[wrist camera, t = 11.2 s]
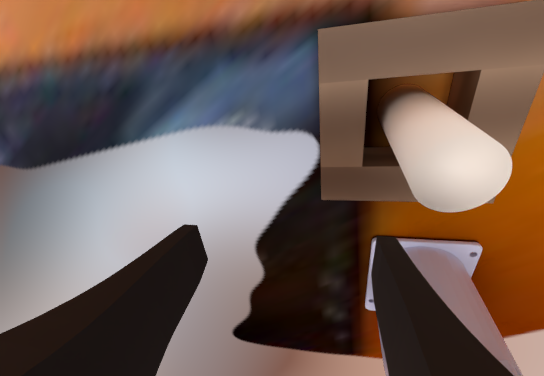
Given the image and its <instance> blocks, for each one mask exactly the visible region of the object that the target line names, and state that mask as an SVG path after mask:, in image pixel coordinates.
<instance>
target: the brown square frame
mask: <svg viewBox="0 0 544 376" xmlns="http://www.w3.org/2000/svg"><path fill="white" fill-rule="evenodd" d="M318 58H319V107H320V155H321V200H356V201H405V202H418V200H417V199H416V198H415V197H414V195H413V193H412V191H411V189H410V187H409V185H408V182H407V180H406V178H405V176H404V174H403V172H402V169H401V167H400V165H399V163H398V161H397V159H396V156H395V154H394V152H393V150H392V148H391V147H366V148H364V134H365V120H366V106H367V92H368V79H380V78H391V77H403V76H415V75H427V74H438V73H450V72H454V77H453V81H452V85H451V90H450V94H449V99H448V103H447V106H448V107H449V108H451V109H452V110H453V111H455V112H456V113H458V114H459V115H461V116H462V117H463V118H465V119H466V120H468V121H469V122H470V123H472V124H473V125H475V126H476V127H478V128H479V129H480V130H482V131H483V132H485V133H486V134H488V135H489V136H490V137H492V138H493V139H495V140H496V141H497V142H499V143H500V144H502V145H503V146H504V147H505V148H506V149H507V151H508V152H509V154H510V156H512V153H513V151H514V148H515V145H516V143H517V140H518V138H519V135H520V133H521V130H522V127H523V125H524V122H525V120H526V117H527V115H528V112H529V109H530V107H531V104H532V102H533V99H534V97H535V94H536V91H537V89H538V86H539V84H540V81H541V78H542V76H543V73H544V0H532V1H525V2H517V3H510V4H503V5H495V6H488V7H480V8H473V9H465V10H458V11H450V12H443V13H436V14H428V15H421V16H413V17H406V18H398V19H391V20H383V21H376V22H369V23H361V24H354V25H346V26H339V27H331V28H324V29H318ZM495 197H496V196H495ZM495 197H494V198H492V199H491V200H489V201H488V202H486V203H493V202H494V199H495Z"/></svg>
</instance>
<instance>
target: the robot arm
mask: <svg viewBox="0 0 544 376" xmlns="http://www.w3.org/2000/svg"><path fill="white" fill-rule="evenodd" d="M482 249H483V248H482V246H481V245H480V244H479V243H477V242H463V241H443V240H424V239H405V238H395V237H386V236H377V237H376V238H374V239H373V240H372V243H371V253H370V262H369V271H368V280H367V289H366V298H365V308H366V309H368V310H374V311H376V315H377V321H378V328H379V335H380V342H381V349H382V356H383V363H384V369H385V373H386V376H523V375H522V373H521V371H520V370H519V367H518V366H517V364H516V362H515V360H514V358H513V356H512V354H511V353H510V351H509V349H508V347H507V345H506V343H505V341H504V339H503V338H502V336H501V334H500V332H499V330H498V328H497V326H496V325H495V323H494V321H493V319H492V317H491V315H490V313H489V312H488V310H487V308H486V306H485V304H484V302H483V300H482V298H481V297H480V295H479V293H478V291H477V289H476V287H475V285H474V284H473V282H472V280H471V277H472V274H473V272H474V269H475V267H476V265H477V262H478V260H479V257H480V255H481V252H482ZM472 252H474V253H472ZM470 253H471V254H470ZM207 261H208V258H207V255H206V252H205V248H204V245H203V242H202V239H201V236H200V233H199V230H198V227H197V225H183V226H182V227H180V228H178V229H177V230H175V231H174V232H173V233H171V234H170V235H168V236H167V237H166V238H164V239H163V240H162V241H160V242H159V243H158V244H156V245H155V246H154V247H152V248H151V249H149V250H148V251H147V252H145V253H144V254H142V255H141V256H140V257H138V258H137V259H135V260H134V261H132V262H131V263H130V264H128V265H127V266H125V267H124V268H122V269H121V270H119V271H118V272H116V273H115V274H113V275H112V276H110V277H109V278H107V279H105V280H104V281H102V282H101V283H99V284H97V285H96V286H94V287H92V288H90V289H89V290H87V291H85V292H84V293H82V294H80V295H78V296H77V297H75V298H73V299H71V300H69V301H67V302H65V303H63V304H61V305H59V306H58V307H56V308H54V309H52V310H50V311H48V312H46V313H44V314H42V315H40V316H38V317H36V318H34V319H32V320H30V321H27V322H25V323H23V324H21V325H19V326H17V327H15V328H12V329H10V330H8V331H6V332H3V333H1V334H0V376H155V375H156V373H157V371H158V368H159V366H160V363H161V361H162V358H163V356H164V353H165V351H166V349H167V346H168V344H169V342H170V339H171V337H172V335H173V333H174V331H175V329H176V327H177V325H178V323H179V321H180V320H181V318H182V316H183V314H184V312H185V310H186V308H187V306H188V304H189V302H190V300H191V298H192V296H193V295H194V292H195V291H196V289H197V286H198V284H199V283H200V280H201V278H202V275H203V272H204V270H205V267H206V264H207Z"/></svg>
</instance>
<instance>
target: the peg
mask: <svg viewBox="0 0 544 376" xmlns="http://www.w3.org/2000/svg"><path fill="white" fill-rule="evenodd" d="M377 116H378V119H379V122H380V124H381V126H382V128H383V130H384V133H385V135H386V137H387V139H388V141H389V143H390V146H391V148H392V150H393V152H394V154H395V156H396V159H397V161H398V163H399V165H400V167H401V169H402V172H403V174H404V176H405V178H406V180H407V182H408V185H409V187H410V189H411V191H412V193H413V195H414V197H415V198H416V199H417V200H418V202H420V203H421V204H422V205H424V206H425V207H427V208H430V209H432V210H436V211H440V212H460V211H466V210H469V209H473V208H475V207H478V206H480V205H482V204H484V203H486V202H488V201H489V200H491V199H492V198H494V197H495V196H496V195H497V194H498V193H499V192H500V191H501V190H502V189H503V188H504V187H505V185H506V184H507V182H508V180H509V178H510V175H511V172H512V160H511V156H510V154H509V152H508V151H507V149H506V148H505V147H504V146H503V145H502V144H500V143H499V142H497V141H496V140H495V139H493V138H492V137H490V136H489V135H488V134H486V133H485V132H483V131H482V130H480V129H479V128H478V127H476V126H475V125H473V124H472V123H470V122H469V121H468V120H466V119H465V118H463V117H462V116H461V115H459V114H458V113H456V112H455V111H453V110H452V109H451V108H449V107H448V106H446V105H445V104H444V103H442V102H441V101H439V100H438V99H436V98H435V97H434V96H432V95H431V94H429V93H428V92H426V91H425V90H424V89H422V88H421V87H419V86H417V85H413V84H403V85H399V86H396V87H394V88H392V89H391V90H389V91H388V92H387V93H386V94H385V95H384V96H383V97H382V99H381V100H380V102H379V105H378V109H377Z"/></svg>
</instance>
